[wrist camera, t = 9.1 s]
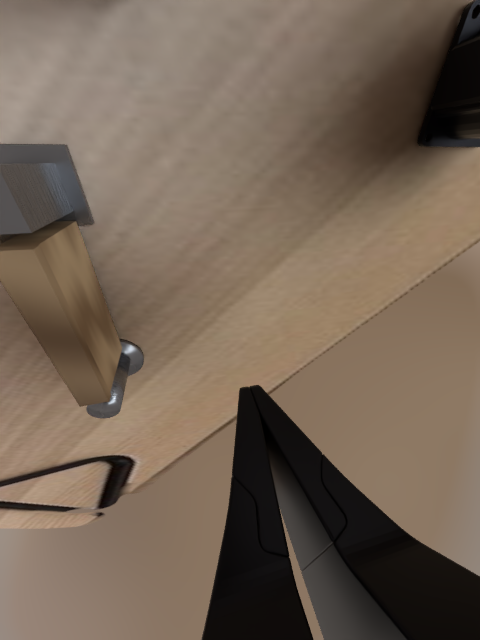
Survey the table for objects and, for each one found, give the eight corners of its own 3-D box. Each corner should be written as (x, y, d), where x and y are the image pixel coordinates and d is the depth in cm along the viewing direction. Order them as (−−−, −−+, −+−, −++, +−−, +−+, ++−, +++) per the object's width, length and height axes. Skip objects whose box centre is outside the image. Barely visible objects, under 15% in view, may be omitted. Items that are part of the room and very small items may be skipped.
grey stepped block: (66, 145, 12) (8, 137, 8) (98, 234, 15) (68, 264, 11) (-21, 144, 12) (-137, 135, 7) (29, 238, 14) (-34, 272, 10)
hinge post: (137, 335, 20) (126, 384, 16) (148, 369, 23) (142, 419, 18) (82, 343, 19) (56, 396, 15) (101, 377, 22) (83, 431, 18)
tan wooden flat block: (123, 346, 20) (109, 401, 16) (101, 348, 20) (79, 406, 15) (78, 220, 14) (33, 249, 10) (45, 220, 14) (-19, 251, 9)
